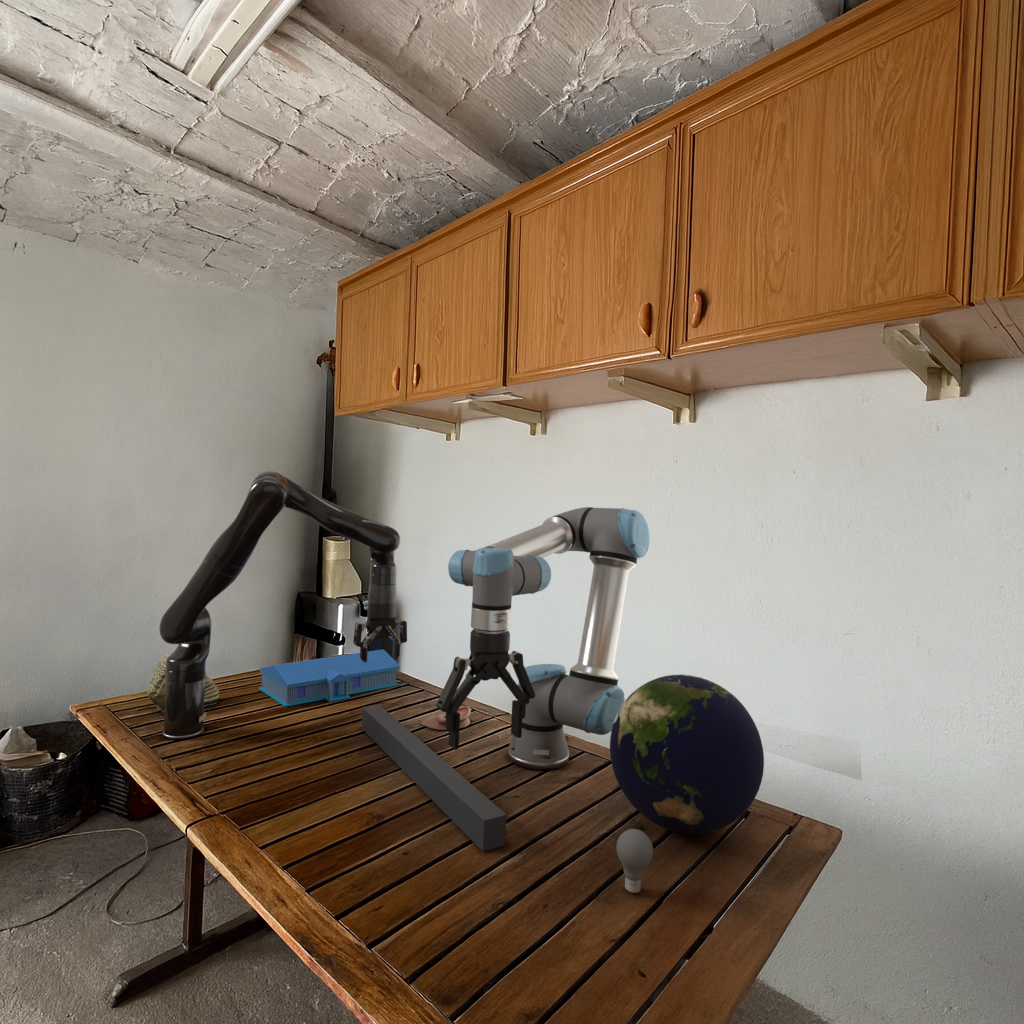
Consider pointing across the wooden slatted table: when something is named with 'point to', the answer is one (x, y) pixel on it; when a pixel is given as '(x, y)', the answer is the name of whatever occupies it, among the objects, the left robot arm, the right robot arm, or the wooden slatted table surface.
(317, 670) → the model building
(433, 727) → the anatomical model
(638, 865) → the light bulb
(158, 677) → the fossil
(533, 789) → the wooden slatted table surface
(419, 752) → the bar
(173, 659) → the left robot arm
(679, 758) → the globe
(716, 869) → the wooden slatted table surface
